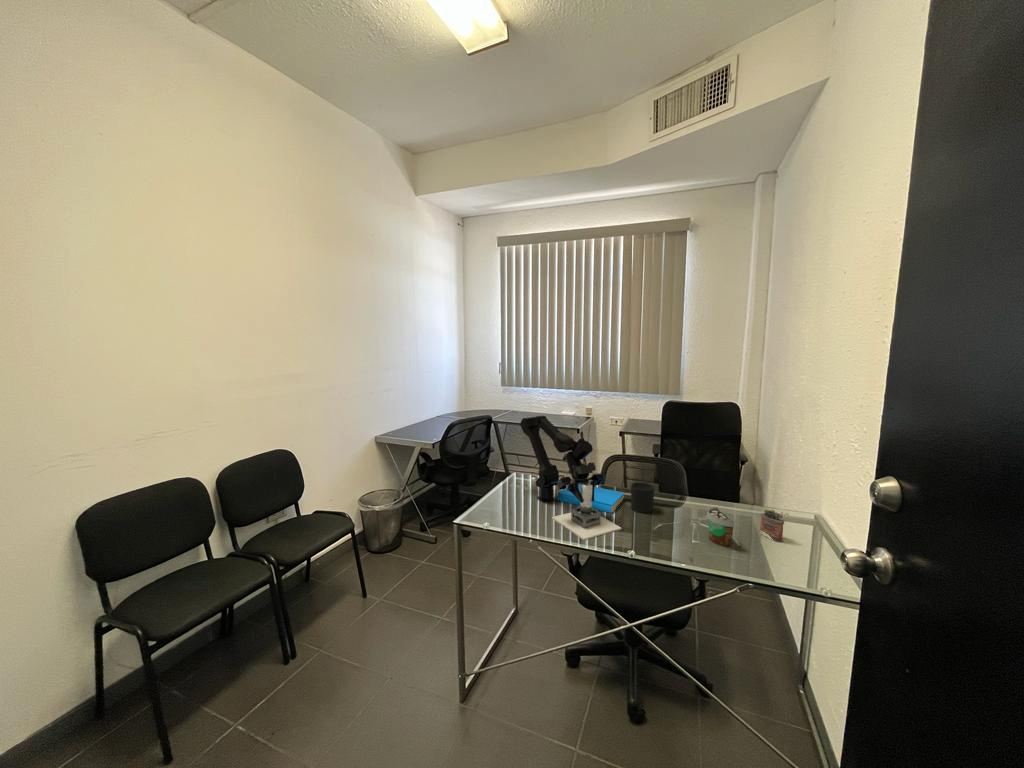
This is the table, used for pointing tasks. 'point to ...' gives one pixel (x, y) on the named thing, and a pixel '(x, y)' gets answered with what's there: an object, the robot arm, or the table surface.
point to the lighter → (772, 524)
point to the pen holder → (642, 497)
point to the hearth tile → (587, 532)
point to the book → (595, 498)
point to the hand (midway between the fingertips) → (587, 501)
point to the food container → (719, 527)
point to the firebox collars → (585, 518)
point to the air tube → (586, 499)
